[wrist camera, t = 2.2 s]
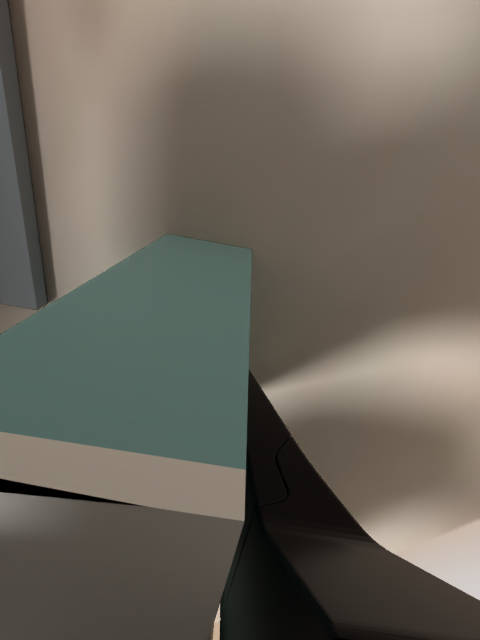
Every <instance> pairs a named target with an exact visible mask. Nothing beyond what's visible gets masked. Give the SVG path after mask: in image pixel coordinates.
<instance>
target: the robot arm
mask: <svg viewBox="0 0 480 640" xmlns="http://www.w3.org/2000/svg"><path fill="white" fill-rule="evenodd" d="M220 618H221V620H220V640H480V600H478V599H476V598H474V597H472V596H470V595H468V594H466V593H465V592H463V591H461V590H459V589H457V588H456V587H454V586H452V585H450V584H448V583H446V582H445V581H443V580H441V579H439V578H437V577H435V576H434V575H432V574H430V573H428V572H426V571H424V570H422V569H420V568H419V567H417V566H415V565H413V564H412V563H410V562H408V561H406V560H404V559H402V558H401V557H399V556H397V555H395V554H393V553H391V552H390V551H388V550H386V549H385V548H384V547H382V546H381V545H379V544H378V543H377V542H376V541H375V540H373V539H372V538H371V537H370V536H369V535H368V534H367V533H366V532H365V531H364V530H363V528H362V527H361V526H360V525H359V524H358V523H357V521H356V520H355V519H354V518H353V516H352V515H351V514H350V513H349V511H348V510H347V509H346V508H345V506H344V505H343V504H342V503H341V501H340V500H339V499H338V498H337V497H336V495H335V494H334V493H333V492H332V490H331V489H330V488H329V487H328V485H327V484H326V483H325V482H324V480H323V479H322V478H321V476H320V475H319V474H318V473H317V471H316V470H315V469H314V467H313V466H312V465H311V463H310V462H309V461H308V459H307V458H306V456H305V455H304V453H303V452H302V450H301V449H300V447H299V446H298V444H297V443H296V441H295V440H294V438H293V437H291V434H290V432H289V431H288V429H287V427H286V426H285V424H284V423H283V421H282V420H281V418H280V417H279V415H278V413H277V412H276V410H275V409H274V407H273V406H272V404H271V403H270V401H269V399H268V398H267V396H266V395H265V393H264V392H263V390H262V389H261V387H260V385H259V384H258V382H257V381H256V379H255V378H254V376H253V375H252V373H251V371H250V370H249V375H248V411H247V447H246V483H245V519H244V524H243V528H242V531H241V534H240V538H239V541H238V544H237V548H236V551H235V554H234V558H233V561H232V564H231V568H230V571H229V574H228V578H227V581H226V584H225V588H224V591H223V594H222V598H221V601H220ZM213 628H214V624H213ZM213 628H212V631H211V634H210V638H209V640H212V639H213Z"/></svg>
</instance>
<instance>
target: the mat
mask: <svg viewBox="0 0 480 640" xmlns="http://www.w3.org/2000/svg"><path fill="white" fill-rule="evenodd" d="M0 304H5V305H11V306H17V307H23V308H28V309H34V310H38V309H40V308H41V307H43V306H45V305H46V304H47V297H46V289H45V282H44V274H43V267H42V259H41V251H40V244H39V236H38V229H37V221H36V213H35V206H34V198H33V191H32V183H31V175H30V168H29V160H28V153H27V145H26V137H25V130H24V122H23V114H22V107H21V99H20V92H19V84H18V76H17V69H16V61H15V54H14V46H13V38H12V31H11V23H10V16H9V8H8V0H0Z"/></svg>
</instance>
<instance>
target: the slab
mask: <svg viewBox="0 0 480 640" xmlns="http://www.w3.org/2000/svg"><path fill="white" fill-rule="evenodd" d="M251 267H252V249H247V248H241V247H236V246H230V245H225V244H219V243H214V242H209V241H203V240H198V239H192V238H187V237H181V236H176V235H170V234H166V235H164V236H163V237H161V238H159V239H158V240H156V241H154V242H153V243H151V244H149V245H148V246H146V247H144V248H143V249H141V250H139V251H138V252H136V253H134V254H133V255H131V256H129V257H128V258H126V259H124V260H123V261H121V262H120V263H118V264H116V265H115V266H113V267H111V268H110V269H108V270H106V271H105V272H103V273H101V274H100V275H98V276H96V277H95V278H93V279H91V280H90V281H88V282H86V283H85V284H83V285H81V286H80V287H78V288H76V289H75V290H73V291H71V292H70V293H68V294H66V295H65V296H63V297H61V298H60V299H58V300H56V301H55V302H53V303H51V304H50V305H48V306H46V307H45V308H43V309H41V310H40V311H38V312H36V313H35V314H33V315H31V316H30V317H28V318H27V319H25V320H23V321H22V322H20V323H18V324H17V325H15V326H13V327H12V328H10V329H8V330H7V331H5V332H3V333H2V334H0V640H209V638H210V634H211V631H212V628H213V624H214V621H215V618H216V614H217V611H218V608H219V604H220V601H221V598H222V594H223V591H224V588H225V584H226V581H227V578H228V574H229V571H230V568H231V564H232V561H233V558H234V554H235V551H236V548H237V544H238V541H239V538H240V534H241V531H242V528H243V524H244V519H245V483H246V447H247V411H248V375H249V339H250V303H251Z"/></svg>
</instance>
